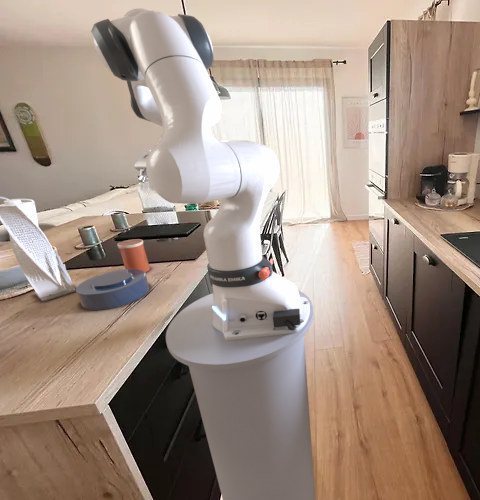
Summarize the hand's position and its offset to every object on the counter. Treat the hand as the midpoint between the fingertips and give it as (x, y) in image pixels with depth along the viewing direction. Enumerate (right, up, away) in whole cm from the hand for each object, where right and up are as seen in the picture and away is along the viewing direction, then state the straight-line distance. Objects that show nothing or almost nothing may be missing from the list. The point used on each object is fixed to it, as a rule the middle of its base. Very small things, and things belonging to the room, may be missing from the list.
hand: (152, 182), depth 96 cm
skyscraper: (-18, -35, -15) cm, 42 cm away
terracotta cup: (-4, -30, -1) cm, 30 cm away
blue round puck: (+1, -35, -16) cm, 39 cm away
